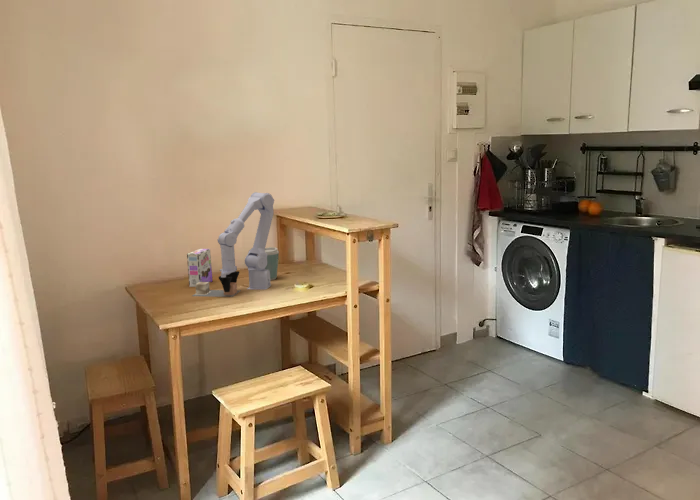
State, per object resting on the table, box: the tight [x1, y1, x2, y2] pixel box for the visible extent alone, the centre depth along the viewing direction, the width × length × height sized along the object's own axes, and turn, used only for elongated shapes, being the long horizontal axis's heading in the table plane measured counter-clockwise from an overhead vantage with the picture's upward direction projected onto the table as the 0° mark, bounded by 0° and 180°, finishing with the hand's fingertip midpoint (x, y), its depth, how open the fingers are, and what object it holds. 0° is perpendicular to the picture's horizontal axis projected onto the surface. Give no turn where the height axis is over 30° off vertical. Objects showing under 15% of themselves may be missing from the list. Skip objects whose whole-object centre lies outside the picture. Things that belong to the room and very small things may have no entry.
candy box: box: [186, 248, 213, 288], centre depth 280 cm, size 14×6×16 cm, turn 168°
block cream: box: [195, 282, 211, 294], centre depth 263 cm, size 4×4×4 cm
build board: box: [191, 289, 241, 298], centre depth 262 cm, size 19×11×1 cm, turn 81°
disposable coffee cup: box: [265, 246, 280, 281], centre depth 288 cm, size 11×11×15 cm
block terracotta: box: [224, 281, 238, 295], centre depth 260 cm, size 4×4×4 cm
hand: (230, 289), depth 261 cm, fingers open, 7 cm apart
